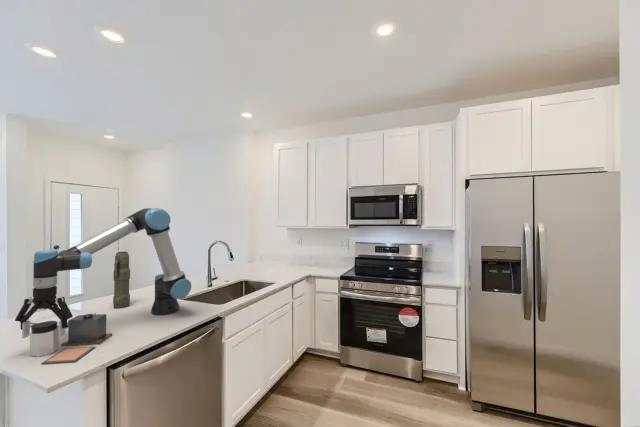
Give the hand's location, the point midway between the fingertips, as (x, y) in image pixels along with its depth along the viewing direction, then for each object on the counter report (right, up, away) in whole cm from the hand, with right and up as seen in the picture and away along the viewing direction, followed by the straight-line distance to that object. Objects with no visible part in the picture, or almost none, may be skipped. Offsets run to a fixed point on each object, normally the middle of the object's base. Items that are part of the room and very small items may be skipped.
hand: (43, 336), depth 125 cm
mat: (+14, -7, -3) cm, 16 cm away
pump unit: (+10, -7, +12) cm, 17 cm away
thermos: (-9, -7, +62) cm, 64 cm away
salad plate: (-22, -8, +35) cm, 42 cm away
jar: (0, -7, 0) cm, 7 cm away
